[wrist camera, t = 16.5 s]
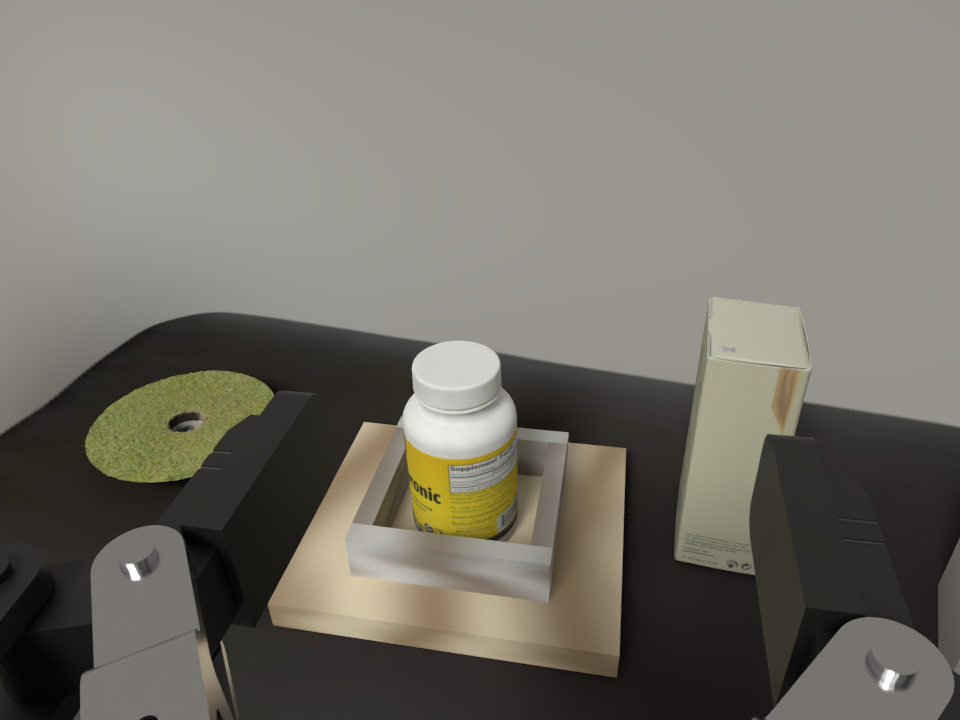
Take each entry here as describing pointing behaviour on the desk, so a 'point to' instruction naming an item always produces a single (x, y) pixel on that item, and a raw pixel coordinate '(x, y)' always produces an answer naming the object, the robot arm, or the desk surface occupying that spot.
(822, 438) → the desk surface
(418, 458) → the supplement bottle
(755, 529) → the robot arm
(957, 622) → the tea bag
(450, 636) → the socket board
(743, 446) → the skincare box
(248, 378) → the green disc with hole
